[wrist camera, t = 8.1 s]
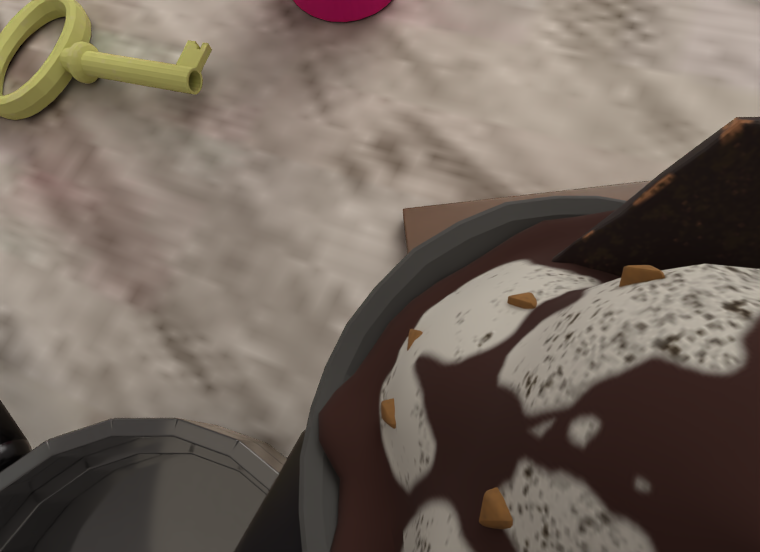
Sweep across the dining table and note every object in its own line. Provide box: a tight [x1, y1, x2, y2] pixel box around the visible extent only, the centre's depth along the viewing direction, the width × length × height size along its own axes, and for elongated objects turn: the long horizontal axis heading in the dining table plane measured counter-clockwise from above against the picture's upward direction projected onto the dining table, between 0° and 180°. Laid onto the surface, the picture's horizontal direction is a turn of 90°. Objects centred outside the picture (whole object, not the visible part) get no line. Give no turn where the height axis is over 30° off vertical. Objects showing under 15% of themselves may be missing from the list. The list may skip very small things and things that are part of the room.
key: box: [0, 0, 212, 120], centre depth 27 cm, size 7×12×2 cm, turn 91°
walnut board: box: [403, 181, 651, 254], centre depth 20 cm, size 20×14×1 cm
